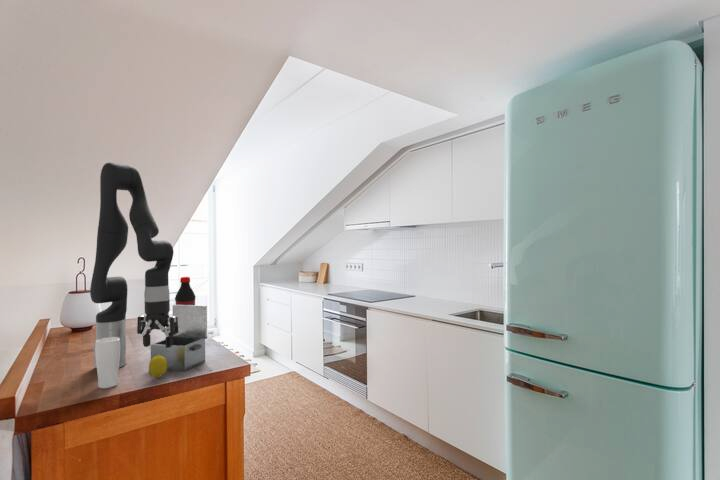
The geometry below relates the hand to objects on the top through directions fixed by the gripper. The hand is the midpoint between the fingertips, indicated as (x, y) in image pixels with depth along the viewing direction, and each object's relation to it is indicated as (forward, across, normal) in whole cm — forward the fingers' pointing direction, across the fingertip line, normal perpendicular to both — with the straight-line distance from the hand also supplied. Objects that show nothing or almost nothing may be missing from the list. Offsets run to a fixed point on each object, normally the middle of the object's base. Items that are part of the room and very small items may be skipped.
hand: (158, 346), depth 127 cm
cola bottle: (+10, -21, +41) cm, 47 cm away
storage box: (+11, -2, +13) cm, 17 cm away
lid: (-4, -2, +19) cm, 20 cm away
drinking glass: (+11, -11, -9) cm, 18 cm away
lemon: (+11, 0, 0) cm, 11 cm away
